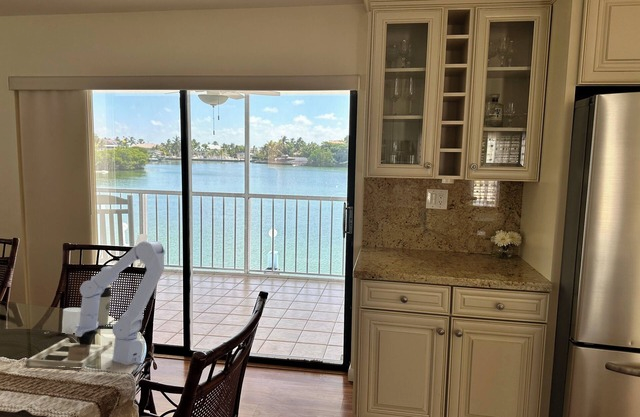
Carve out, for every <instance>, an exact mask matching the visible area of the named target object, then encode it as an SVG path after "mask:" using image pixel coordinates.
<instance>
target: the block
mask: <svg viewBox="0 0 640 417" xmlns="http://www.w3.org/2000/svg"><path fill="white" fill-rule="evenodd" d="M89 351H90V345H84V344H80V343H77V344H75V345H73V346H69V347H68V351H67V352H68V356H67V357H68V359H67V360H80V361H82V360H84V359H85V358H86V357H88V356H89Z"/></svg>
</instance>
